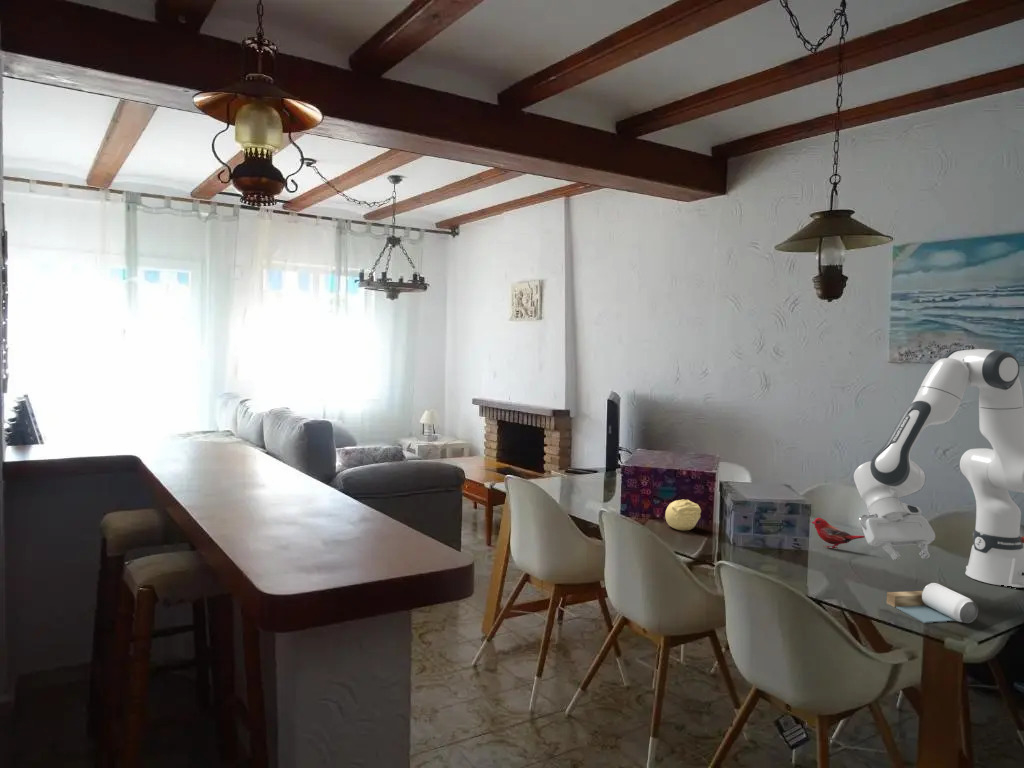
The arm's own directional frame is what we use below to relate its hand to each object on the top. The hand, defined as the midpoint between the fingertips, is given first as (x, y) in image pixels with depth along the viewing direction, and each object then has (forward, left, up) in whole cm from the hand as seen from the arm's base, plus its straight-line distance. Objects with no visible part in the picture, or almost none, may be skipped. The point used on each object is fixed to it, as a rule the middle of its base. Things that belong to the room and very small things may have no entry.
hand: (911, 558), depth 198 cm
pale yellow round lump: (+33, -74, -12) cm, 82 cm away
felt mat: (+3, +11, -11) cm, 16 cm away
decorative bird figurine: (-10, -44, -12) cm, 46 cm away
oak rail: (+1, +4, -11) cm, 12 cm away
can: (-1, +6, -8) cm, 10 cm away
